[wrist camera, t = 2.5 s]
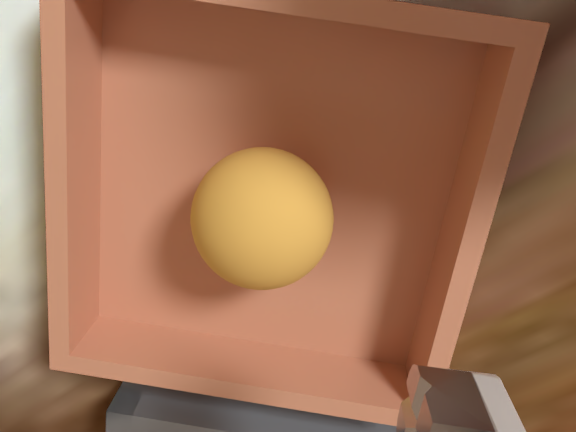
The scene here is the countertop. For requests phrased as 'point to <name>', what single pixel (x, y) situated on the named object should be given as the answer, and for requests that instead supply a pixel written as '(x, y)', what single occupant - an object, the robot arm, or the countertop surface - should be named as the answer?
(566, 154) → the countertop surface
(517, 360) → the countertop surface
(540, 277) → the countertop surface
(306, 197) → the ball
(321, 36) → the dish
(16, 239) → the countertop surface
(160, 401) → the tray
